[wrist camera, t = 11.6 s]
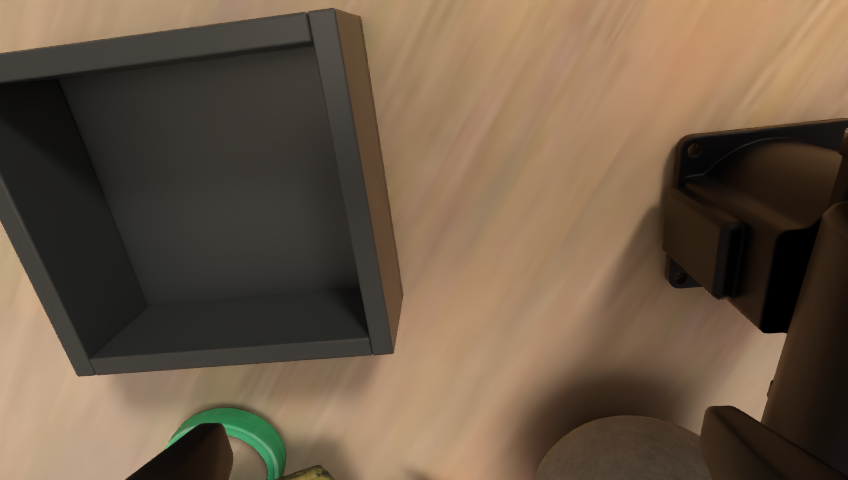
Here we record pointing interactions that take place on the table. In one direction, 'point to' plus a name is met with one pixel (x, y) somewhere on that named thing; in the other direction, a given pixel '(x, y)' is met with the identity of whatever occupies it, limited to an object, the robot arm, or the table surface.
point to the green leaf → (309, 474)
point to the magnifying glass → (244, 435)
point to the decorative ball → (625, 452)
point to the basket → (202, 194)
